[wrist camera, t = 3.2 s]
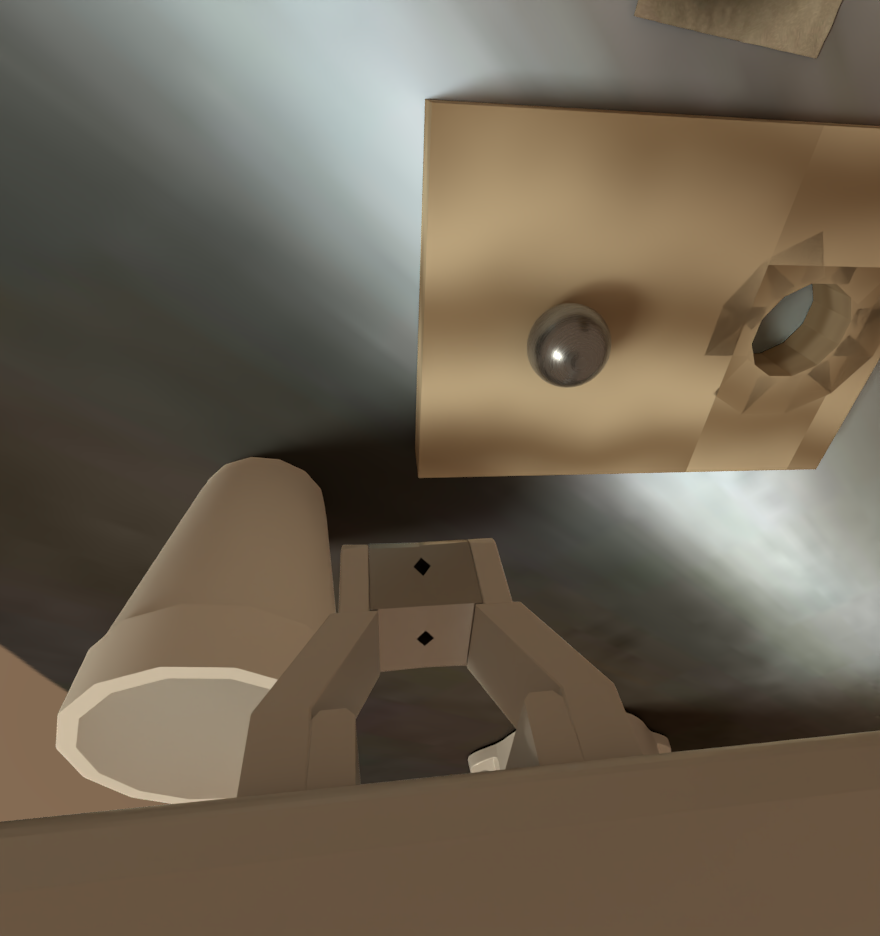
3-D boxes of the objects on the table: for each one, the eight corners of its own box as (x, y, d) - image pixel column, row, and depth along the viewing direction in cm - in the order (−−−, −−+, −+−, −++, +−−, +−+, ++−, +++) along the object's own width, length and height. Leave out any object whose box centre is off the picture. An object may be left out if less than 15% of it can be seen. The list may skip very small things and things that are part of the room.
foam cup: (179, 560, 31) (83, 809, 20) (161, 423, 26) (18, 665, 15) (347, 568, 33) (336, 801, 22) (362, 441, 27) (358, 669, 17)
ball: (586, 365, 23) (612, 402, 21) (513, 365, 23) (531, 402, 20) (602, 291, 21) (634, 322, 19) (524, 290, 21) (546, 321, 18)
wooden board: (786, 442, 30) (815, 469, 28) (414, 448, 28) (418, 477, 26) (948, 130, 22) (1007, 136, 20) (425, 99, 19) (431, 102, 17)
